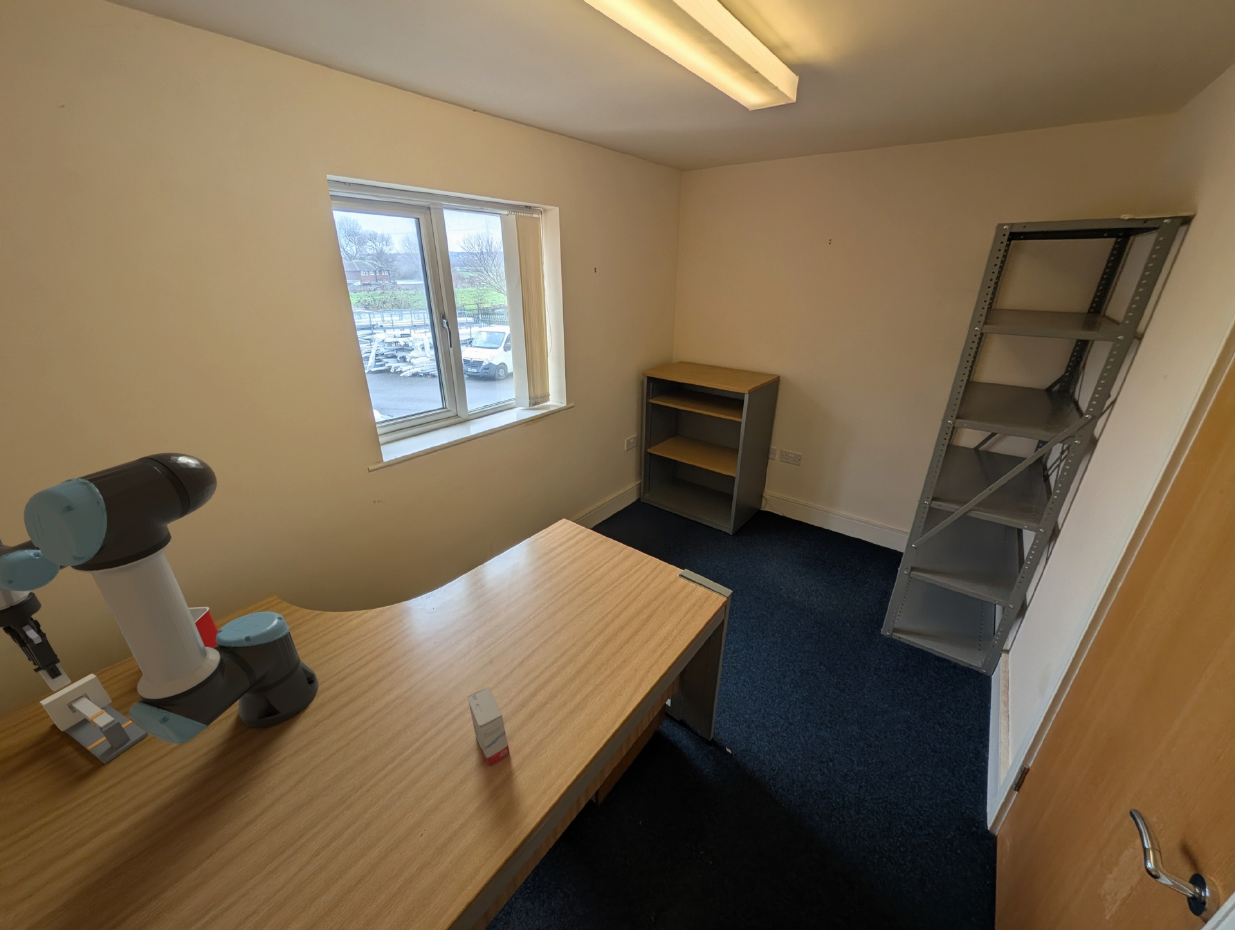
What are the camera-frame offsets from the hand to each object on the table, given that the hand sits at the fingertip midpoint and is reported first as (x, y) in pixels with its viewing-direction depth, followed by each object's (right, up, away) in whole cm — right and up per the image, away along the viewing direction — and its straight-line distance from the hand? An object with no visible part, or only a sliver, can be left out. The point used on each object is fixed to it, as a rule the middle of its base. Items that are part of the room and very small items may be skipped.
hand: (61, 685), depth 101 cm
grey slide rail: (+10, -9, -1) cm, 13 cm away
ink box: (+97, -11, -4) cm, 98 cm away
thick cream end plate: (+5, -7, 0) cm, 8 cm away
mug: (+10, -1, +21) cm, 23 cm away
